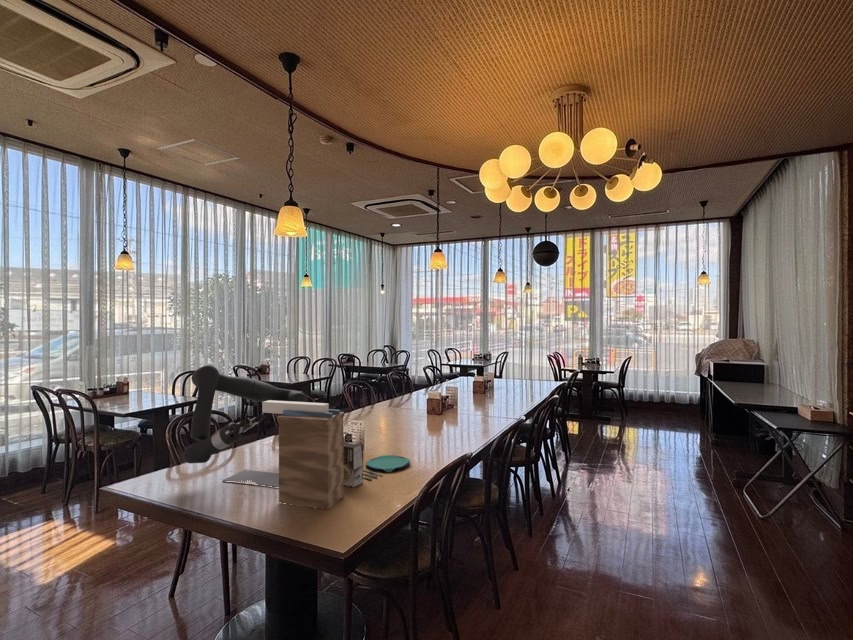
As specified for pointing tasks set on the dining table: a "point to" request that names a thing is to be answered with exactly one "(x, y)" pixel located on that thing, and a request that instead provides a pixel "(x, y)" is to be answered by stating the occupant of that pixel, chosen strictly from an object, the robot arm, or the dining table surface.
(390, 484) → the dining table surface
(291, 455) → the brown wooden box
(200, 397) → the robot arm
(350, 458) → the grey food carton
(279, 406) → the bar
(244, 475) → the mat
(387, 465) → the cutlery set
